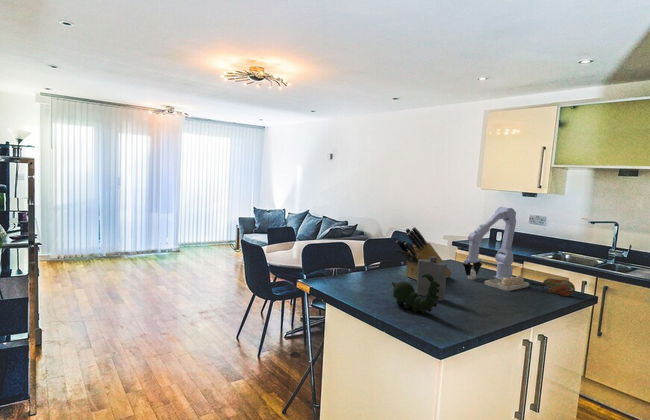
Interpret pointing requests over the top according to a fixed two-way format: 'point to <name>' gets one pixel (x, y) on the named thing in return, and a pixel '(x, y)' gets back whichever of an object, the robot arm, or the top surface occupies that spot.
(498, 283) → the egg carton
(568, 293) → the tin
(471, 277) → the cream egg
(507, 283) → the brown egg
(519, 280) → the brown egg
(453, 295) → the top surface
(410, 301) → the toy figurine
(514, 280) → the brown egg middle
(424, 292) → the flask
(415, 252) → the knife block
